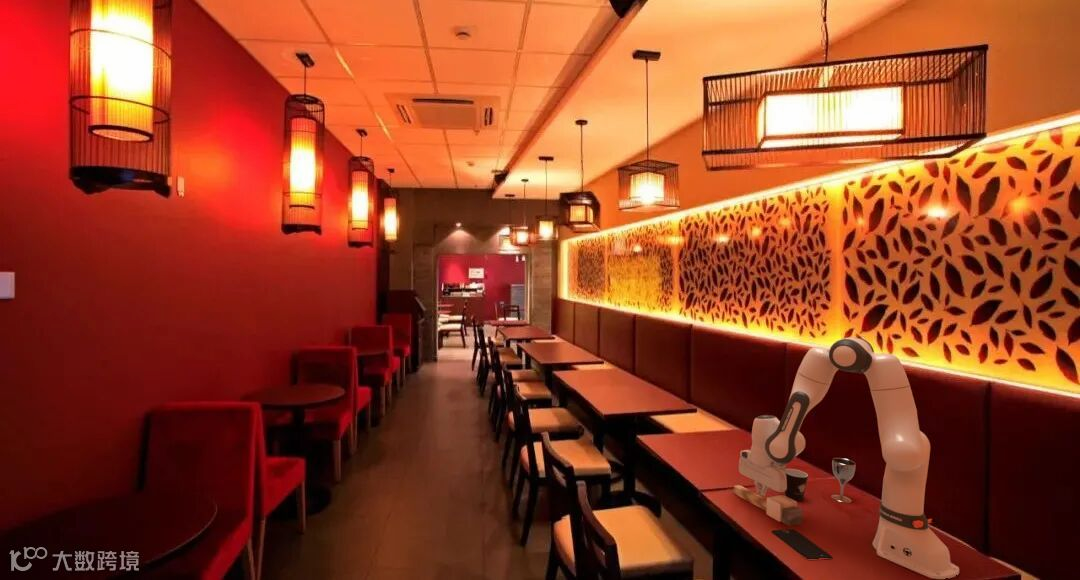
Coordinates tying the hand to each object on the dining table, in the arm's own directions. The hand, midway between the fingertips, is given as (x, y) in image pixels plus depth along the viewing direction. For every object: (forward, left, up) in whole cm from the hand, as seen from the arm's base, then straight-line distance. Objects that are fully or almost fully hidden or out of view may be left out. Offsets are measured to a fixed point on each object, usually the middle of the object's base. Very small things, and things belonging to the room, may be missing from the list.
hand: (760, 494), depth 198 cm
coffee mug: (+2, -18, -5) cm, 19 cm away
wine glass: (-5, -38, -5) cm, 39 cm away
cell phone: (-26, +10, -5) cm, 28 cm away
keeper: (-9, 0, -4) cm, 11 cm away
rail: (-2, 0, -4) cm, 5 cm away
